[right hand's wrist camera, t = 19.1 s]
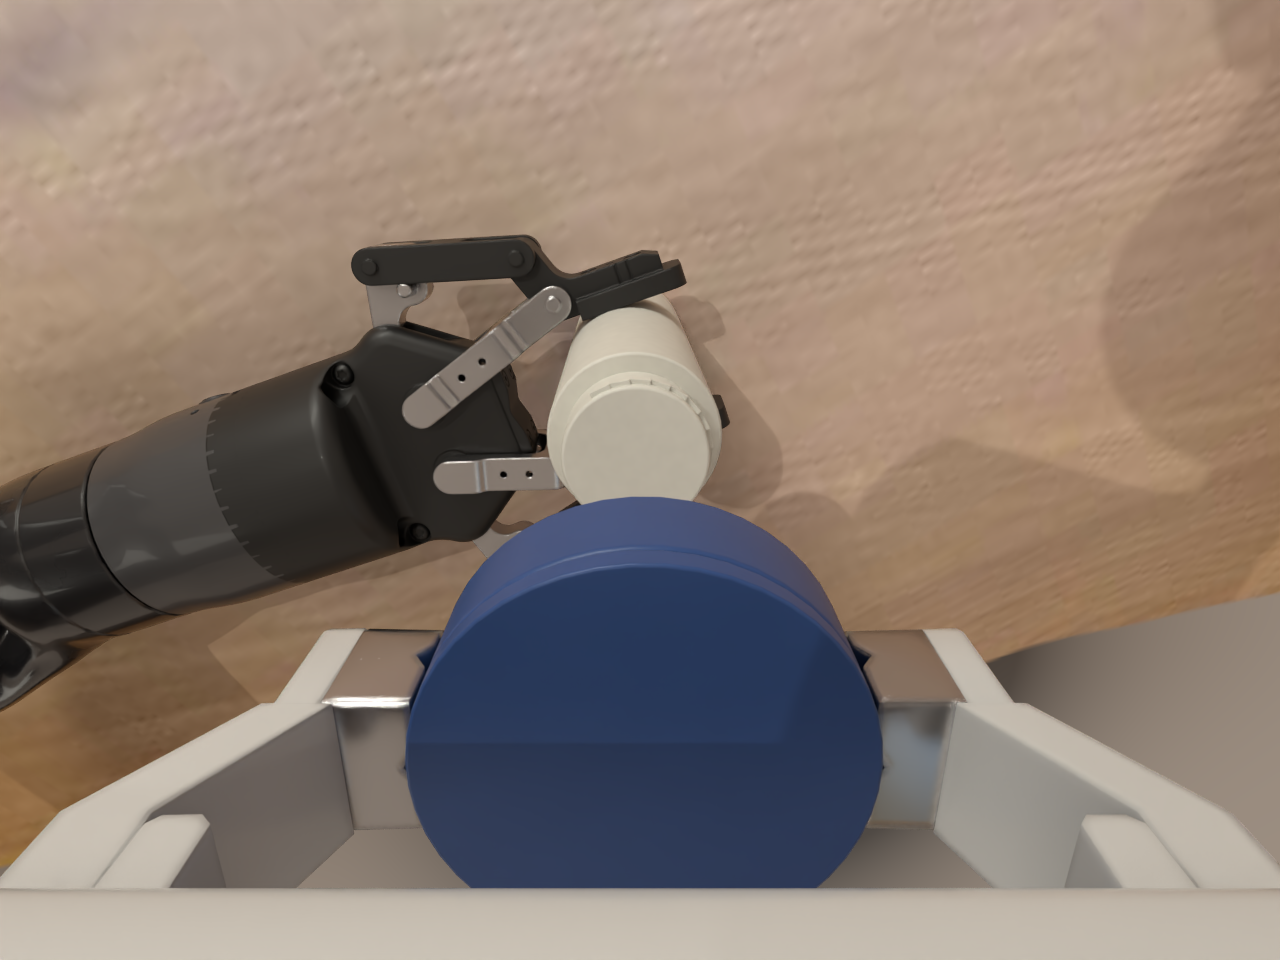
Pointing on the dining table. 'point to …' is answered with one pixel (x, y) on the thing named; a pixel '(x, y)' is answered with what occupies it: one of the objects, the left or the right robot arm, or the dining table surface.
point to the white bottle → (633, 409)
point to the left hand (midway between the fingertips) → (701, 341)
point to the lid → (644, 710)
